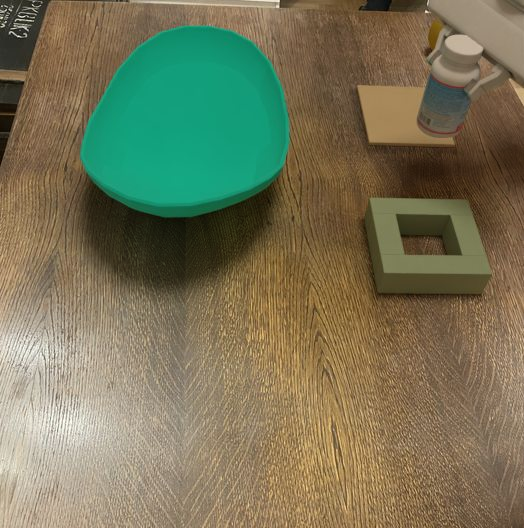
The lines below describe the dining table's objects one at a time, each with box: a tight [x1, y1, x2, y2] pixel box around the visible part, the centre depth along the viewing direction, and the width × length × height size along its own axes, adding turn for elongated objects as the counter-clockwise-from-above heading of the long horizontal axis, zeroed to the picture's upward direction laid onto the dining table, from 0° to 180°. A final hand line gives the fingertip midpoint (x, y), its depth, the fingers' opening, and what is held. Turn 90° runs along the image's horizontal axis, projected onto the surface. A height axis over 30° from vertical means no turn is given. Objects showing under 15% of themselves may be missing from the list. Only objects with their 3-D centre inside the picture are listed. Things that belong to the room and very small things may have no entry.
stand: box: [363, 197, 493, 295], centre depth 82 cm, size 14×14×4 cm
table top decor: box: [79, 24, 291, 218], centre depth 84 cm, size 40×28×13 cm
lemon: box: [427, 18, 444, 51], centre depth 111 cm, size 6×6×8 cm
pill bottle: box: [416, 35, 483, 138], centre depth 77 cm, size 6×6×11 cm
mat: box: [356, 84, 456, 148], centre depth 102 cm, size 14×16×1 cm
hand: (448, 81), depth 76 cm, fingers closed on pill bottle, 6 cm apart
